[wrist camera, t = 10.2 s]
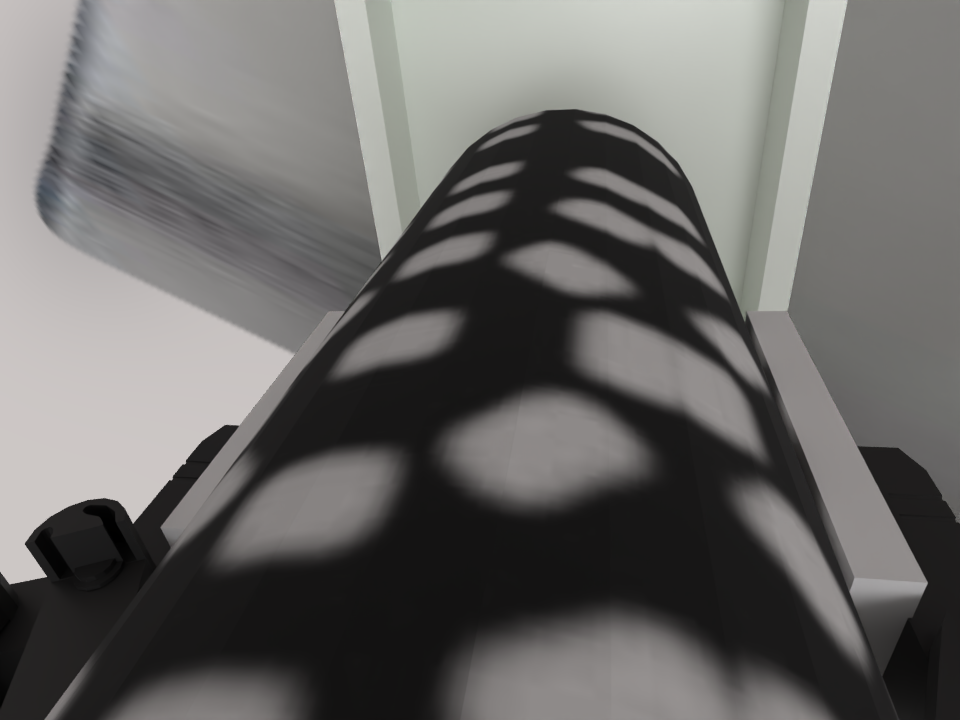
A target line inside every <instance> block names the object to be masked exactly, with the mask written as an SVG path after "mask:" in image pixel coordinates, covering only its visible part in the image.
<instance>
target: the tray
mask: <svg viewBox="0 0 960 720" xmlns="http://www.w3.org/2000/svg"><path fill="white" fill-rule="evenodd" d="M847 1H848V0H334V2H335V8H336V13H337V19H338V24H339V29H340V35H341V40H342V46H343V51H344V57H345V62H346V68H347V73H348V79H349V84H350V90H351V95H352V101H353V106H354V112H355V117H356V122H357V128H358V133H359V139H360V144H361V150H362V155H363V161H364V166H365V172H366V177H367V183H368V188H369V194H370V199H371V204H372V210H373V215H374V221H375V226H376V232H377V237H378V243H379V248H380V254H381V259H382V260H383V259H384V258H385V256H386V255H387V254H388V252H389V251H390V250H391V248H392V247H393V245H394V244H395V243H396V241H397V240H398V239H399V237H400V236H401V235H402V233H403V232H404V231H405V229H406V228H407V226H408V225H409V224H410V222H411V221H412V220H413V218H414V217H415V216H416V214H417V213H418V211H419V210H420V209H421V207H422V206H423V205H424V203H425V202H426V201H427V199H428V198H429V197H430V195H431V194H432V192H433V191H434V190H435V188H436V187H437V186H438V184H439V183H440V182H441V180H442V179H443V178H444V176H445V175H446V173H447V172H448V171H449V169H450V168H451V167H452V166H453V165H454V163H455V162H456V161H457V160H458V159H459V157H460V156H461V155H462V154H463V153H464V152H465V150H466V149H467V148H468V147H469V146H471V145H472V144H473V143H474V142H476V141H477V140H478V139H480V138H481V137H482V136H484V135H485V134H486V133H487V132H489V131H490V130H492V129H494V128H496V127H498V126H500V125H502V124H504V123H506V122H508V121H510V120H513V119H515V118H517V117H521V116H525V115H529V114H533V113H537V112H541V111H545V110H565V109H578V110H584V111H590V112H596V113H602V114H607V115H609V116H612V117H614V118H617V119H619V120H622V121H624V122H627V123H629V124H632V125H634V126H635V127H637V128H638V129H640V130H641V131H643V132H644V133H646V134H647V135H649V136H650V137H652V138H653V139H655V140H656V141H658V142H659V143H660V144H661V145H662V146H663V147H664V148H665V150H666V151H667V152H668V153H669V154H670V155H671V156H672V157H673V158H674V159H675V160H676V161H677V162H678V164H679V165H680V167H681V169H682V170H683V172H684V174H685V175H686V177H687V179H688V180H689V182H690V184H691V185H692V187H693V190H694V192H695V195H696V197H697V200H698V203H699V205H700V208H701V210H702V213H703V216H704V218H705V221H706V223H707V226H708V228H709V231H710V234H711V236H712V239H713V241H714V244H715V246H716V249H717V252H718V254H719V257H720V259H721V262H722V264H723V267H724V270H725V272H726V275H727V277H728V280H729V283H730V285H731V288H732V290H733V293H734V295H735V298H736V301H737V303H738V306H739V308H740V311H741V313H742V316H743V319H744V321H745V319H746V312H747V311H787V312H788V306H789V301H790V296H791V291H792V286H793V281H794V275H795V270H796V265H797V260H798V255H799V249H800V244H801V239H802V234H803V229H804V224H805V218H806V213H807V208H808V203H809V198H810V192H811V187H812V182H813V177H814V172H815V167H816V161H817V156H818V151H819V146H820V141H821V135H822V130H823V125H824V120H825V115H826V110H827V104H828V99H829V94H830V89H831V84H832V78H833V73H834V68H835V63H836V58H837V53H838V47H839V42H840V37H841V32H842V27H843V21H844V16H845V11H846V6H847Z"/></svg>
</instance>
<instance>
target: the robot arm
mask: <svg viewBox="0 0 960 720" xmlns="http://www.w3.org/2000/svg"><path fill="white" fill-rule="evenodd" d="M344 312H345V311H329V312H328V313H327V314H326V316H325V317H324V318H323V319H322V321H321V322H320V323H319V325H318V326H317V327H316V328H315V330H314V331H313V332H312V334H311V335H310V336H309V337H308V339H307V340H306V341H305V342H304V344H303V345H302V346H301V348H300V349H299V350H298V351H297V353H296V354H295V355H294V357H293V358H292V359H291V360H290V362H289V363H288V364H287V366H286V367H285V368H284V370H283V371H282V372H281V373H280V375H279V376H278V377H277V378H276V380H275V381H274V382H273V384H272V385H271V386H270V387H269V389H268V390H267V391H266V393H265V394H264V395H263V396H262V398H261V399H260V400H259V402H258V403H257V404H256V405H255V407H254V408H253V409H252V411H251V412H250V413H249V414H248V416H247V417H246V418H245V420H244V421H243V422H242V423H241V425H240V426H236V425H225V426H223V427H222V428H220V429H219V430H217V431H216V432H215V433H213V434H212V435H210V436H209V437H207V438H206V439H205V440H203V441H202V442H201V443H200V444H199V445H198V447H197V448H196V449H195V450H194V451H193V453H192V454H191V455H190V456H189V457H188V459H187V460H186V464H185V465H182V466H181V467H180V468H179V469H178V471H177V472H176V473H175V475H173V480H172V481H171V480H169V481H168V483H167V484H166V485H165V486H164V488H163V489H162V490H161V491H160V492H159V494H158V495H157V496H156V497H155V498H154V500H153V501H152V502H151V503H150V504H149V506H148V507H147V508H146V509H145V510H144V512H143V513H142V514H141V515H140V516H139V518H138V519H137V520H136V521H135V522H134V524H133V523H132V521H131V519H130V518H129V516H128V514H127V512H126V510H125V508H124V507H123V506H122V505H121V504H120V503H119V502H118V501H115V500H110V499H106V498H103V499H94V500H87V501H84V502H81V503H78V504H75V505H72V506H69V507H67V508H65V509H64V510H62V511H60V512H58V513H56V514H55V515H53V516H51V517H50V518H48V519H47V520H46V521H45V522H44V523H42V524H41V525H40V526H39V527H38V528H36V529H35V530H34V532H33V533H32V535H31V536H30V537H29V539H28V540H27V541H26V543H25V545H26V547H27V548H28V549H29V551H30V552H31V554H32V555H33V557H34V558H35V559H36V561H37V562H38V564H39V565H40V567H41V568H42V570H43V571H44V572H45V574H46V575H47V577H45V578H40V579H35V580H30V581H25V582H20V583H15V584H10V585H9V583H8V582H7V581H6V579H5V578H4V577H3V575H2V574H1V572H0V720H45V718H46V717H47V716H48V714H49V713H50V712H51V710H52V709H53V707H54V706H55V705H56V703H57V702H58V701H59V699H60V698H61V697H62V695H63V694H64V693H65V691H66V690H67V688H68V687H69V686H70V684H71V683H72V682H73V680H74V679H75V678H76V676H77V675H78V673H79V672H80V671H81V669H82V668H83V667H84V665H85V664H86V663H87V661H88V660H89V659H90V657H91V656H92V654H93V653H94V652H95V650H96V649H97V648H98V646H99V645H100V644H101V642H102V641H103V640H104V638H105V637H106V635H107V634H108V633H109V631H110V630H111V629H112V627H113V626H114V625H115V623H116V622H117V620H118V619H119V618H120V616H121V615H122V614H123V612H124V611H125V610H126V608H127V607H128V606H129V604H130V603H131V601H132V600H133V599H134V597H135V596H136V595H137V593H138V592H139V591H140V589H141V588H142V587H143V585H144V584H145V582H146V581H147V580H148V578H149V577H150V576H151V574H152V573H153V572H154V570H155V569H156V567H157V566H158V565H159V563H160V562H161V561H162V559H163V558H164V557H165V555H166V554H167V553H168V551H169V550H170V548H171V547H172V546H173V544H174V543H175V542H176V540H177V539H178V538H179V536H180V535H181V534H182V532H183V531H184V529H185V528H186V527H187V525H188V524H189V523H190V521H191V520H192V519H193V517H194V516H195V515H196V513H197V512H198V510H199V509H200V508H201V506H202V505H203V504H204V502H205V501H206V500H207V498H208V497H209V495H210V494H211V493H212V491H213V490H214V489H215V487H216V486H217V485H218V483H219V482H220V481H221V479H222V478H223V476H224V475H225V474H226V472H227V471H228V470H229V468H230V467H231V466H232V464H233V463H234V462H235V460H236V459H237V457H238V456H239V455H240V453H241V452H242V451H243V449H244V448H245V447H246V445H247V444H248V442H249V441H250V440H251V438H252V437H253V436H254V434H255V433H256V432H257V430H258V429H259V428H260V426H261V425H262V423H263V422H264V421H265V419H266V418H267V417H268V415H269V414H270V413H271V411H272V410H273V409H274V407H275V406H276V404H277V403H278V402H279V400H280V399H281V398H282V396H283V395H284V394H285V392H286V391H287V389H288V388H289V387H290V385H291V384H292V383H293V381H294V380H295V379H296V377H297V376H298V375H299V373H300V372H301V370H302V369H303V368H304V366H305V365H306V364H307V362H308V361H309V360H310V358H311V357H312V356H313V354H314V353H315V351H316V350H317V349H318V347H319V346H320V345H321V343H322V342H323V341H324V339H325V338H326V336H327V335H328V334H329V332H330V331H331V330H332V328H333V327H334V326H335V324H336V323H337V322H338V320H339V319H340V317H341V316H342V315H343V313H344ZM745 324H746V326H747V329H748V332H749V334H750V337H751V339H752V342H753V344H754V347H755V350H756V352H757V355H758V357H759V360H760V362H761V365H762V368H763V370H764V373H765V375H766V378H767V380H768V383H769V386H770V388H771V391H772V393H773V396H774V399H775V401H776V404H777V406H778V409H779V411H780V414H781V417H782V419H783V422H784V424H785V427H786V429H787V432H788V435H789V437H790V440H791V442H792V445H793V448H794V450H795V453H796V455H797V458H798V460H799V463H800V466H801V468H802V471H803V473H804V476H805V478H806V481H807V484H808V486H809V489H810V491H811V494H812V496H813V499H814V502H815V504H816V507H817V509H818V512H819V515H820V517H821V520H822V522H823V525H824V527H825V530H826V533H827V535H828V538H829V540H830V543H831V545H832V548H833V551H834V553H835V556H836V558H837V561H838V564H839V566H840V569H841V571H842V574H843V576H844V579H845V582H846V584H847V587H848V589H849V592H850V594H851V597H852V600H853V602H854V605H855V607H856V610H857V612H858V615H859V618H860V620H861V623H862V625H863V628H864V631H865V633H866V636H867V638H868V641H869V643H870V646H871V649H872V651H873V654H874V656H875V659H876V661H877V664H878V667H879V669H880V672H881V674H882V677H883V680H884V682H885V685H886V687H887V690H888V692H889V695H890V698H891V700H892V703H893V705H894V708H895V710H896V713H897V716H898V718H899V720H960V523H956V521H955V518H956V517H955V515H954V514H953V512H952V511H951V509H950V508H949V506H948V504H947V503H946V501H943V500H942V495H941V493H940V492H939V490H938V488H937V487H936V485H935V484H934V482H933V481H932V479H931V477H930V476H929V474H928V473H927V471H926V470H925V469H924V468H923V467H921V466H920V465H919V464H918V463H916V462H915V461H914V460H913V459H911V458H910V457H909V456H908V455H906V454H905V453H904V452H903V451H901V450H900V449H899V448H886V447H859V446H857V445H856V444H855V442H854V440H853V438H852V436H851V434H850V432H849V430H848V428H847V426H846V424H845V422H844V420H843V418H842V417H841V415H840V413H839V411H838V409H837V407H836V405H835V403H834V401H833V399H832V397H831V395H830V393H829V391H828V390H827V388H826V386H825V384H824V382H823V380H822V378H821V376H820V374H819V372H818V370H817V368H816V366H815V364H814V363H813V361H812V359H811V357H810V355H809V353H808V351H807V349H806V347H805V345H804V343H803V341H802V339H801V338H800V336H799V334H798V332H797V330H796V328H795V326H794V324H793V322H792V320H791V318H790V316H789V314H788V312H787V311H747V312H746V319H745Z"/></svg>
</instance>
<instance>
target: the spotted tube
mask: <svg viewBox="0 0 960 720" xmlns="http://www.w3.org/2000/svg"><path fill="white" fill-rule="evenodd" d="M45 720H899V718H898V716H897V713H896V710H895V708H894V705H893V703H892V700H891V698H890V695H889V692H888V690H887V687H886V685H885V682H884V680H883V677H882V674H881V672H880V669H879V667H878V664H877V661H876V659H875V656H874V654H873V651H872V649H871V646H870V643H869V641H868V638H867V636H866V633H865V631H864V628H863V625H862V623H861V620H860V618H859V615H858V612H857V610H856V607H855V605H854V602H853V600H852V597H851V594H850V592H849V589H848V587H847V584H846V582H845V579H844V576H843V574H842V571H841V569H840V566H839V564H838V561H837V558H836V556H835V553H834V551H833V548H832V545H831V543H830V540H829V538H828V535H827V533H826V530H825V527H824V525H823V522H822V520H821V517H820V515H819V512H818V509H817V507H816V504H815V502H814V499H813V496H812V494H811V491H810V489H809V486H808V484H807V481H806V478H805V476H804V473H803V471H802V468H801V466H800V463H799V460H798V458H797V455H796V453H795V450H794V448H793V445H792V442H791V440H790V437H789V435H788V432H787V429H786V427H785V424H784V422H783V419H782V417H781V414H780V411H779V409H778V406H777V404H776V401H775V399H774V396H773V393H772V391H771V388H770V386H769V383H768V380H767V378H766V375H765V373H764V370H763V368H762V365H761V362H760V360H759V357H758V355H757V352H756V350H755V347H754V344H753V342H752V339H751V337H750V334H749V332H748V329H747V326H746V324H745V321H744V319H743V316H742V313H741V311H740V308H739V306H738V303H737V301H736V298H735V295H734V293H733V290H732V288H731V285H730V283H729V280H728V277H727V275H726V272H725V270H724V267H723V264H722V262H721V259H720V257H719V254H718V252H717V249H716V246H715V244H714V241H713V239H712V236H711V234H710V231H709V228H708V226H707V223H706V221H705V218H704V216H703V213H702V210H701V208H700V205H699V203H698V200H697V197H696V195H695V192H694V190H693V187H692V185H691V184H690V182H689V180H688V179H687V177H686V175H685V174H684V172H683V170H682V169H681V167H680V165H679V164H678V162H677V161H676V160H675V159H674V158H673V157H672V156H671V155H670V154H669V153H668V152H667V151H666V150H665V148H664V147H663V146H662V145H661V144H660V143H659V142H658V141H656V140H655V139H653V138H652V137H650V136H649V135H647V134H646V133H644V132H643V131H641V130H640V129H638V128H637V127H635V126H634V125H632V124H629V123H627V122H624V121H622V120H619V119H617V118H614V117H612V116H609V115H607V114H602V113H596V112H590V111H584V110H578V109H565V110H545V111H541V112H537V113H533V114H529V115H525V116H521V117H517V118H515V119H513V120H510V121H508V122H506V123H504V124H502V125H500V126H498V127H496V128H494V129H492V130H490V131H489V132H487V133H486V134H485V135H484V136H482V137H481V138H480V139H478V140H477V141H476V142H474V143H473V144H472V145H471V146H469V147H468V148H467V149H466V150H465V152H464V153H463V154H462V155H461V156H460V157H459V159H458V160H457V161H456V162H455V163H454V165H453V166H452V167H451V168H450V169H449V171H448V172H447V173H446V175H445V176H444V178H443V179H442V180H441V182H440V183H439V184H438V186H437V187H436V188H435V190H434V191H433V192H432V194H431V195H430V197H429V198H428V199H427V201H426V202H425V203H424V205H423V206H422V207H421V209H420V210H419V211H418V213H417V214H416V216H415V217H414V218H413V220H412V221H411V222H410V224H409V225H408V226H407V228H406V229H405V231H404V232H403V233H402V235H401V236H400V237H399V239H398V240H397V241H396V243H395V244H394V245H393V247H392V248H391V250H390V251H389V252H388V254H387V255H386V256H385V258H384V259H383V260H382V262H381V263H380V264H379V266H378V267H377V269H376V270H375V271H374V273H373V274H372V275H371V277H370V278H369V279H368V281H367V282H366V284H365V285H364V286H363V288H362V289H361V290H360V292H359V293H358V294H357V296H356V297H355V298H354V300H353V301H352V303H351V304H350V305H349V307H348V308H347V309H346V311H345V312H344V313H343V315H342V316H341V317H340V319H339V320H338V322H337V323H336V324H335V326H334V327H333V328H332V330H331V331H330V332H329V334H328V335H327V336H326V338H325V339H324V341H323V342H322V343H321V345H320V346H319V347H318V349H317V350H316V351H315V353H314V354H313V356H312V357H311V358H310V360H309V361H308V362H307V364H306V365H305V366H304V368H303V369H302V370H301V372H300V373H299V375H298V376H297V377H296V379H295V380H294V381H293V383H292V384H291V385H290V387H289V388H288V389H287V391H286V392H285V394H284V395H283V396H282V398H281V399H280V400H279V402H278V403H277V404H276V406H275V407H274V409H273V410H272V411H271V413H270V414H269V415H268V417H267V418H266V419H265V421H264V422H263V423H262V425H261V426H260V428H259V429H258V430H257V432H256V433H255V434H254V436H253V437H252V438H251V440H250V441H249V442H248V444H247V445H246V447H245V448H244V449H243V451H242V452H241V453H240V455H239V456H238V457H237V459H236V460H235V462H234V463H233V464H232V466H231V467H230V468H229V470H228V471H227V472H226V474H225V475H224V476H223V478H222V479H221V481H220V482H219V483H218V485H217V486H216V487H215V489H214V490H213V491H212V493H211V494H210V495H209V497H208V498H207V500H206V501H205V502H204V504H203V505H202V506H201V508H200V509H199V510H198V512H197V513H196V515H195V516H194V517H193V519H192V520H191V521H190V523H189V524H188V525H187V527H186V528H185V529H184V531H183V532H182V534H181V535H180V536H179V538H178V539H177V540H176V542H175V543H174V544H173V546H172V547H171V548H170V550H169V551H168V553H167V554H166V555H165V557H164V558H163V559H162V561H161V562H160V563H159V565H158V566H157V567H156V569H155V570H154V572H153V573H152V574H151V576H150V577H149V578H148V580H147V581H146V582H145V584H144V585H143V587H142V588H141V589H140V591H139V592H138V593H137V595H136V596H135V597H134V599H133V600H132V601H131V603H130V604H129V606H128V607H127V608H126V610H125V611H124V612H123V614H122V615H121V616H120V618H119V619H118V620H117V622H116V623H115V625H114V626H113V627H112V629H111V630H110V631H109V633H108V634H107V635H106V637H105V638H104V640H103V641H102V642H101V644H100V645H99V646H98V648H97V649H96V650H95V652H94V653H93V654H92V656H91V657H90V659H89V660H88V661H87V663H86V664H85V665H84V667H83V668H82V669H81V671H80V672H79V673H78V675H77V676H76V678H75V679H74V680H73V682H72V683H71V684H70V686H69V687H68V688H67V690H66V691H65V693H64V694H63V695H62V697H61V698H60V699H59V701H58V702H57V703H56V705H55V706H54V707H53V709H52V710H51V712H50V713H49V714H48V716H47V717H46V718H45Z"/></svg>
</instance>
